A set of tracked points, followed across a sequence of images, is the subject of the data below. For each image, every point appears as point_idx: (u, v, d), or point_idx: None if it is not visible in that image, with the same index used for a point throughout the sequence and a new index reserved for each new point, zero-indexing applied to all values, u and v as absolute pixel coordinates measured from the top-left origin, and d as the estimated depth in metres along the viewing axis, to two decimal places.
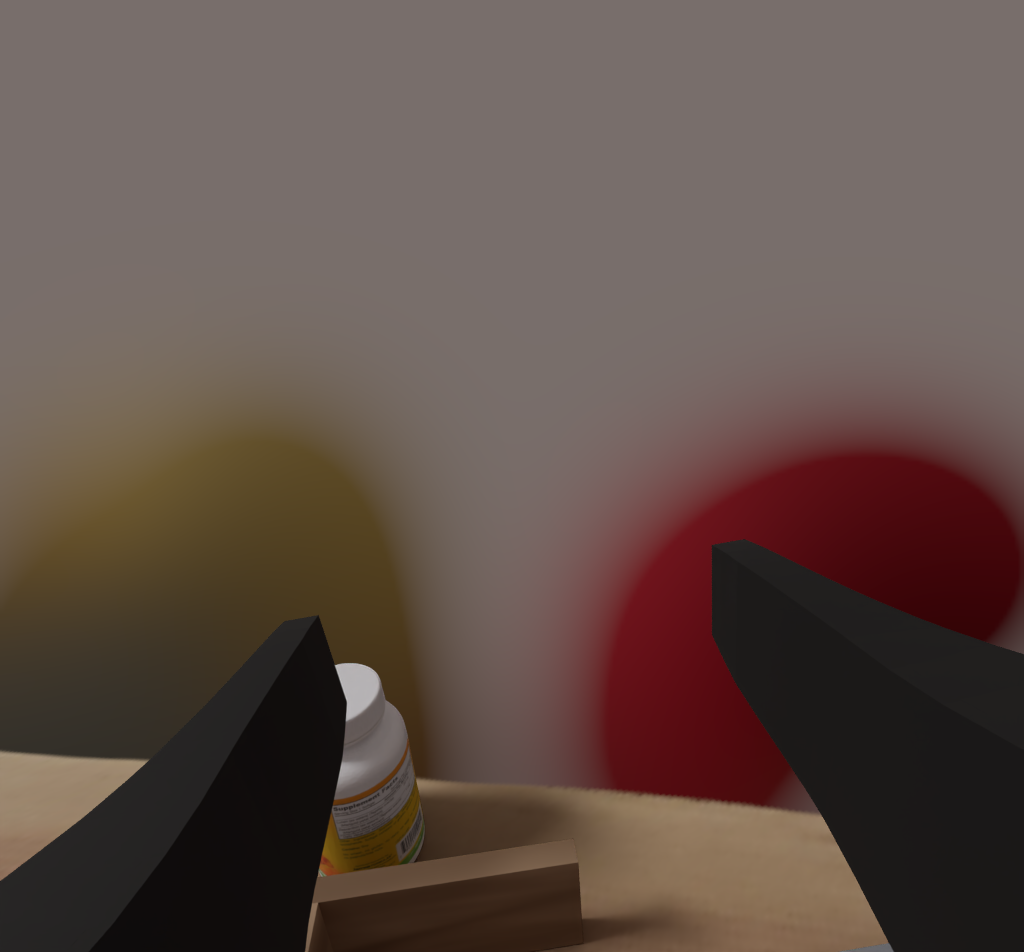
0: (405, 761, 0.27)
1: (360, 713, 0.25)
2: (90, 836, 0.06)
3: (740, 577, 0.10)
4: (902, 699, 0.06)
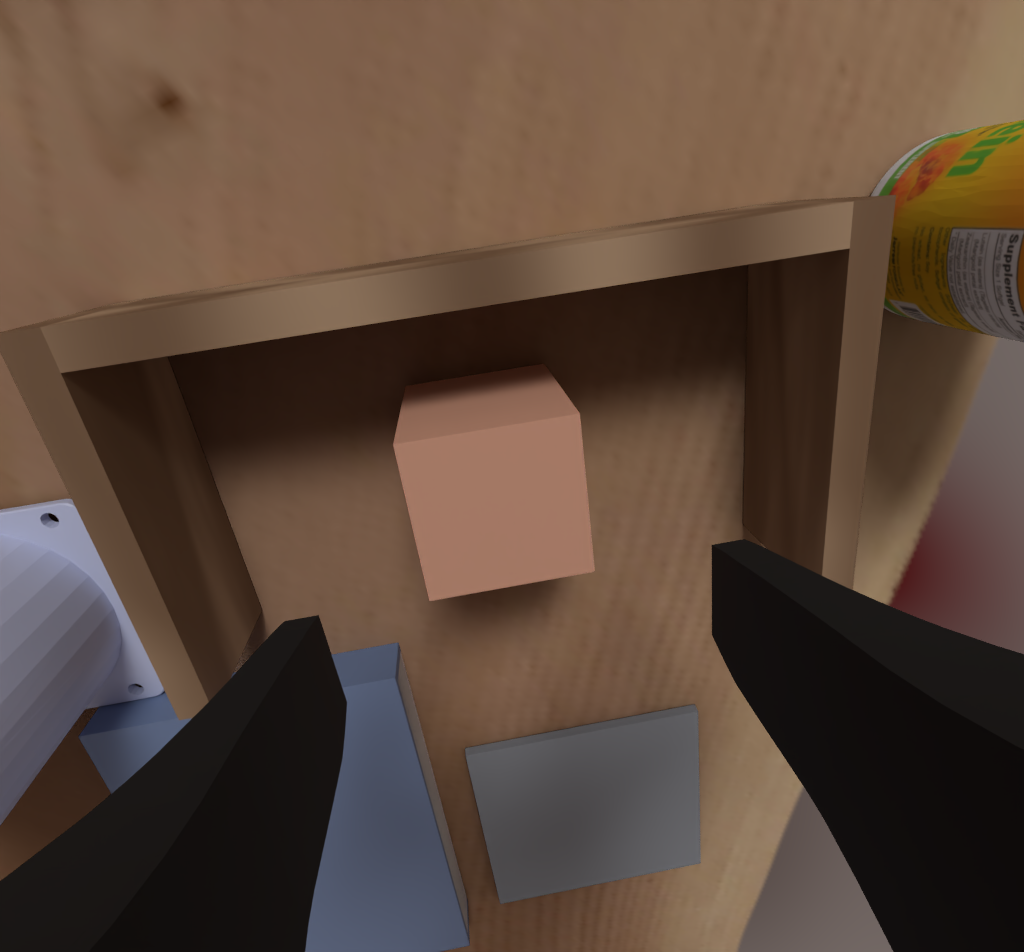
0: None
1: None
2: (90, 836, 0.06)
3: (740, 577, 0.10)
4: (902, 699, 0.06)
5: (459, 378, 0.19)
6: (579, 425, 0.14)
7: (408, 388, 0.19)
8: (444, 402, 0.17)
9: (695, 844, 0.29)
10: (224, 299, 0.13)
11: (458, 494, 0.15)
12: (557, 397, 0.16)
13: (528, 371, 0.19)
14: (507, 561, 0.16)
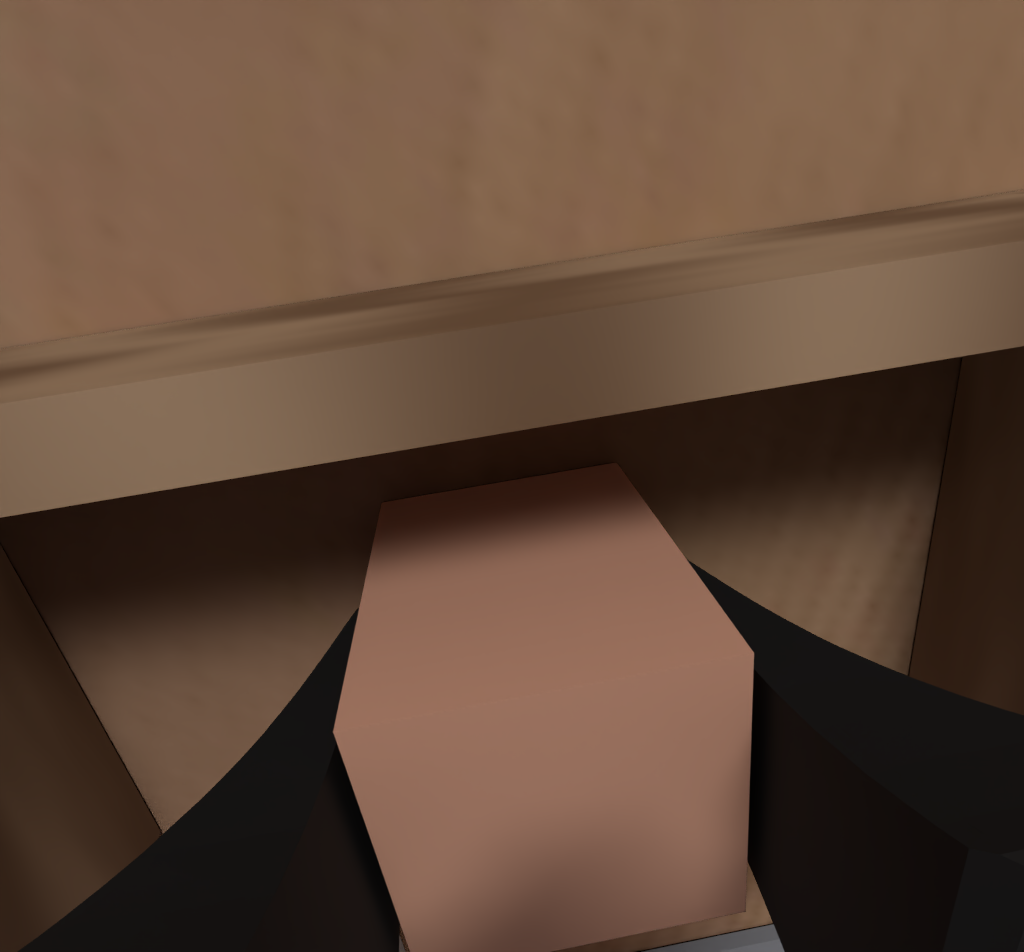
0: None
1: None
2: (219, 811, 0.06)
3: None
4: (786, 721, 0.06)
5: (473, 491, 0.11)
6: (749, 674, 0.07)
7: (385, 513, 0.11)
8: (449, 565, 0.09)
9: None
10: None
11: (478, 812, 0.07)
12: (677, 576, 0.08)
13: (595, 483, 0.11)
14: (577, 909, 0.08)
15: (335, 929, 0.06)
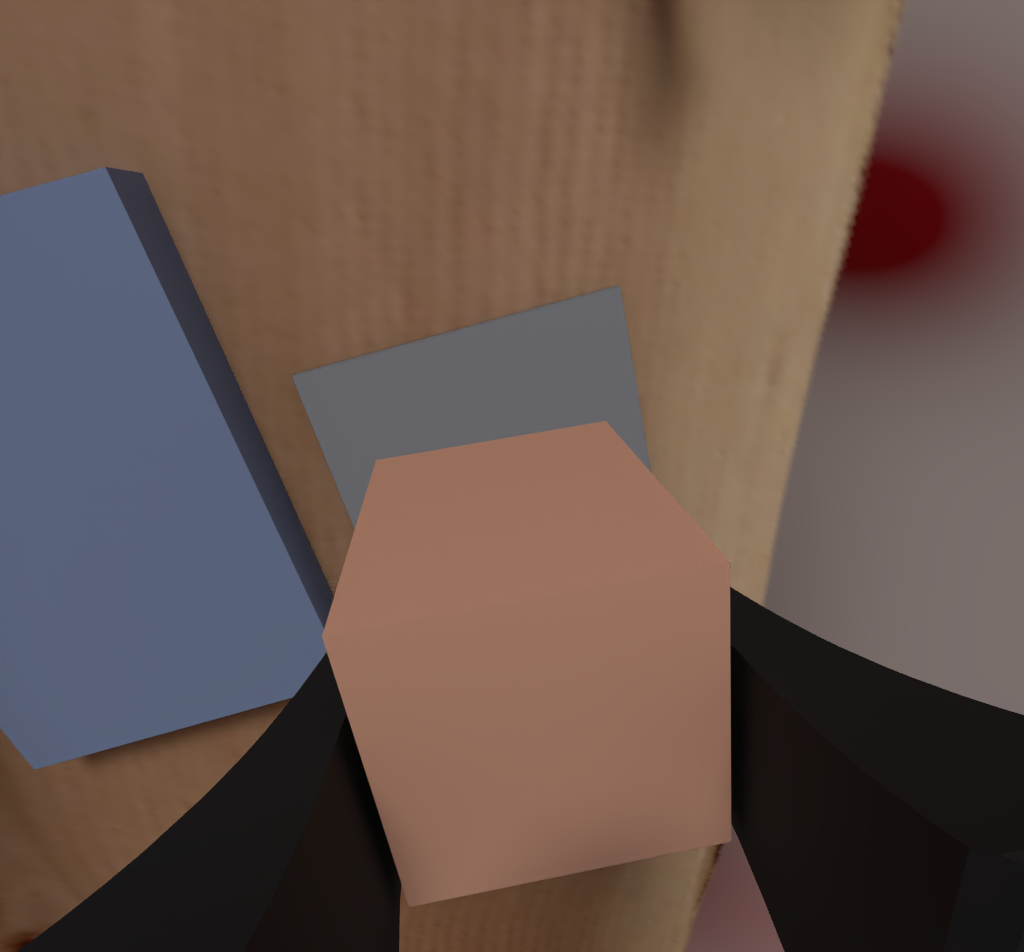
0: None
1: None
2: (220, 810, 0.06)
3: None
4: (786, 721, 0.06)
5: (465, 448, 0.11)
6: (726, 585, 0.07)
7: (378, 468, 0.11)
8: (438, 505, 0.09)
9: None
10: None
11: (465, 724, 0.07)
12: (659, 506, 0.08)
13: (584, 438, 0.11)
14: (565, 834, 0.08)
15: (334, 929, 0.06)
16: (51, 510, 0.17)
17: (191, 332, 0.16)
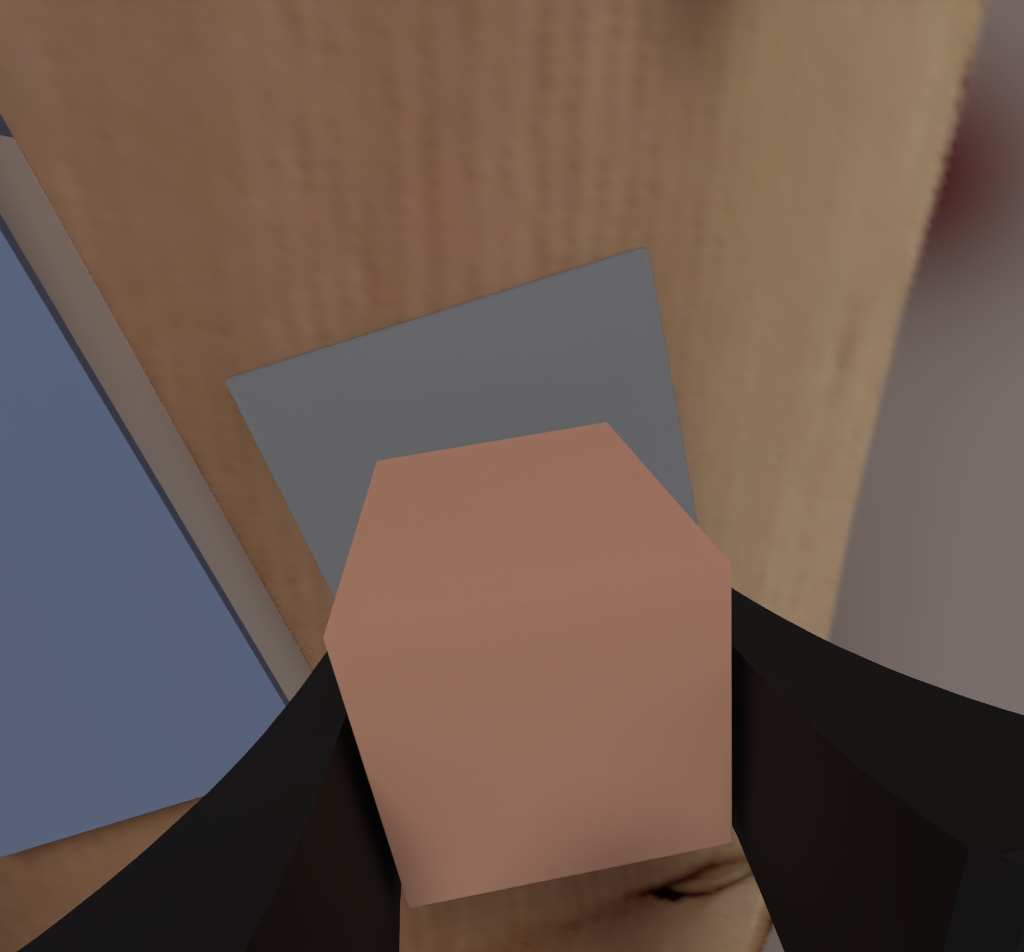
0: None
1: None
2: (220, 811, 0.06)
3: None
4: (786, 721, 0.06)
5: (466, 449, 0.11)
6: (728, 587, 0.07)
7: (379, 469, 0.11)
8: (439, 506, 0.09)
9: None
10: None
11: (466, 726, 0.07)
12: (660, 508, 0.08)
13: (584, 439, 0.11)
14: (564, 835, 0.08)
15: (335, 929, 0.06)
16: None
17: (74, 327, 0.12)
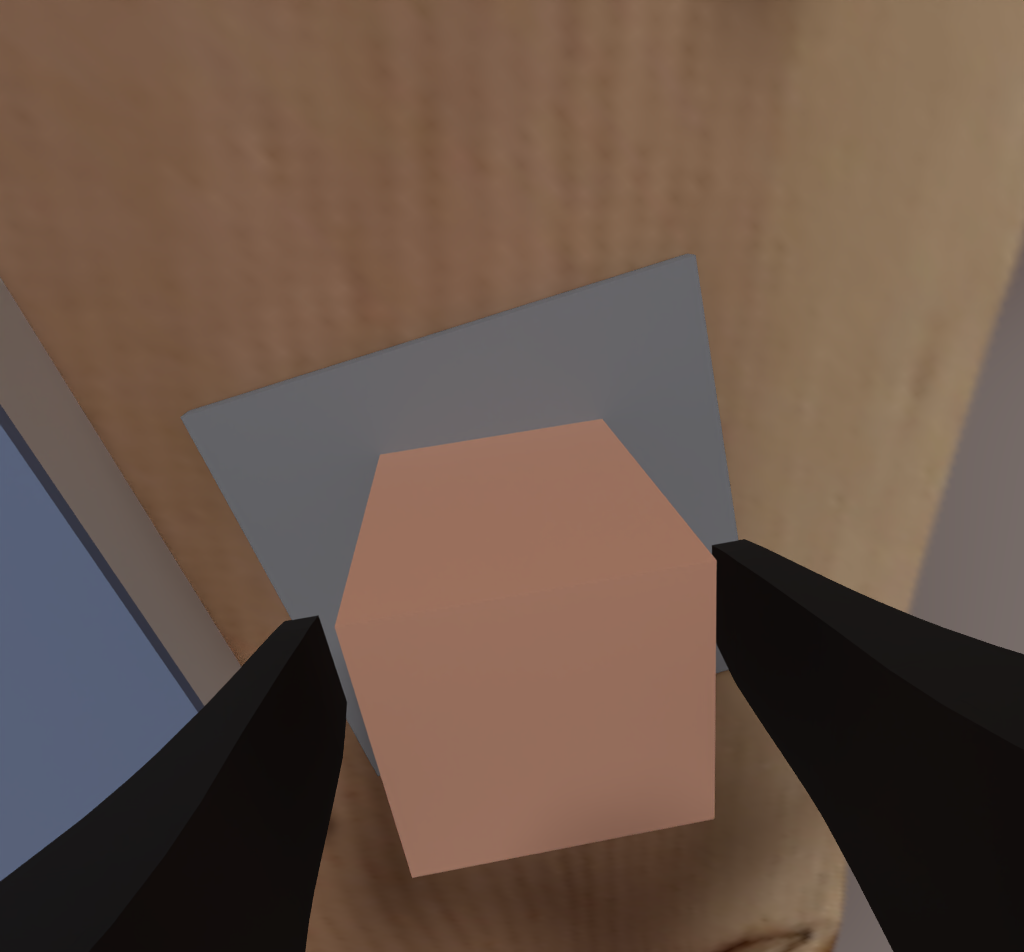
0: None
1: None
2: (90, 835, 0.06)
3: (740, 577, 0.10)
4: (902, 699, 0.06)
5: (466, 444, 0.12)
6: (713, 581, 0.07)
7: (383, 463, 0.11)
8: (442, 501, 0.10)
9: None
10: None
11: (467, 709, 0.08)
12: (652, 505, 0.08)
13: (581, 435, 0.11)
14: (558, 811, 0.08)
15: None
16: None
17: None
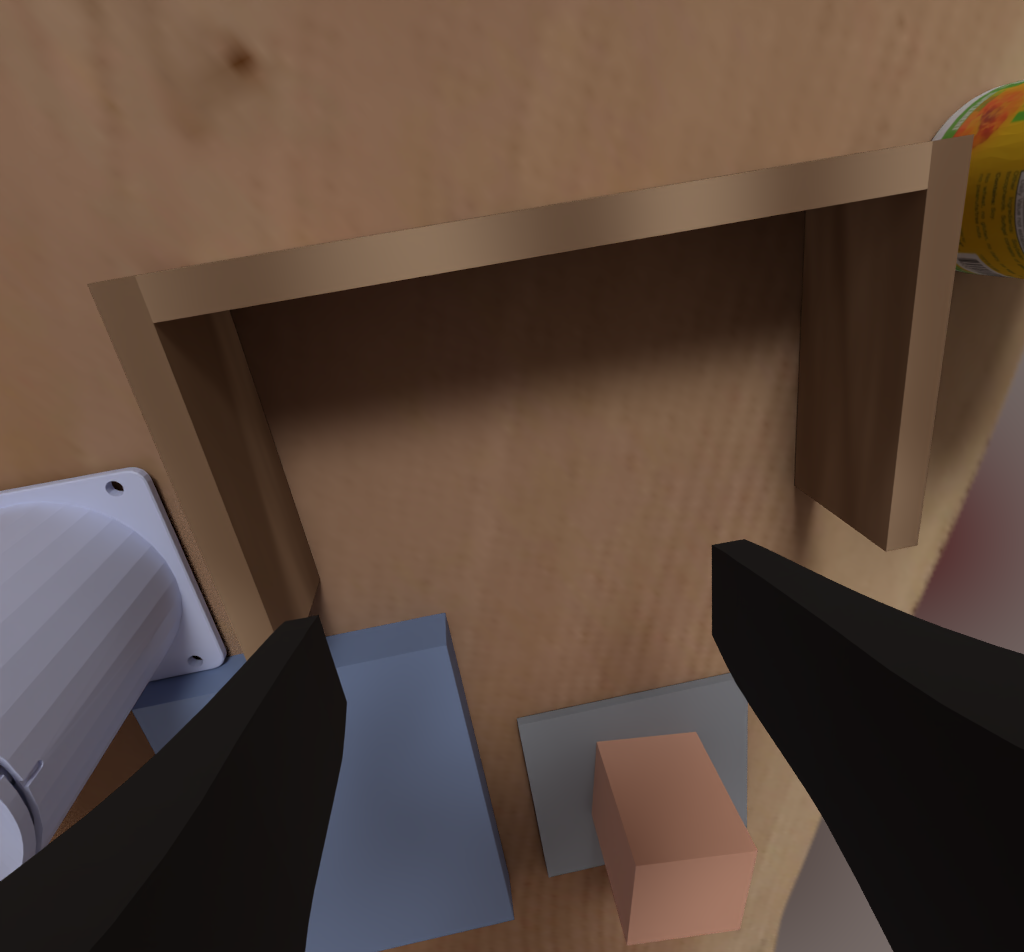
0: None
1: None
2: (89, 835, 0.06)
3: (740, 577, 0.10)
4: (902, 699, 0.06)
5: (636, 741, 0.26)
6: (755, 856, 0.22)
7: (602, 750, 0.26)
8: (643, 791, 0.24)
9: (742, 813, 0.29)
10: (316, 246, 0.13)
11: (667, 890, 0.22)
12: (730, 812, 0.23)
13: (689, 746, 0.26)
14: (685, 924, 0.23)
15: None
16: (345, 821, 0.24)
17: (466, 718, 0.23)
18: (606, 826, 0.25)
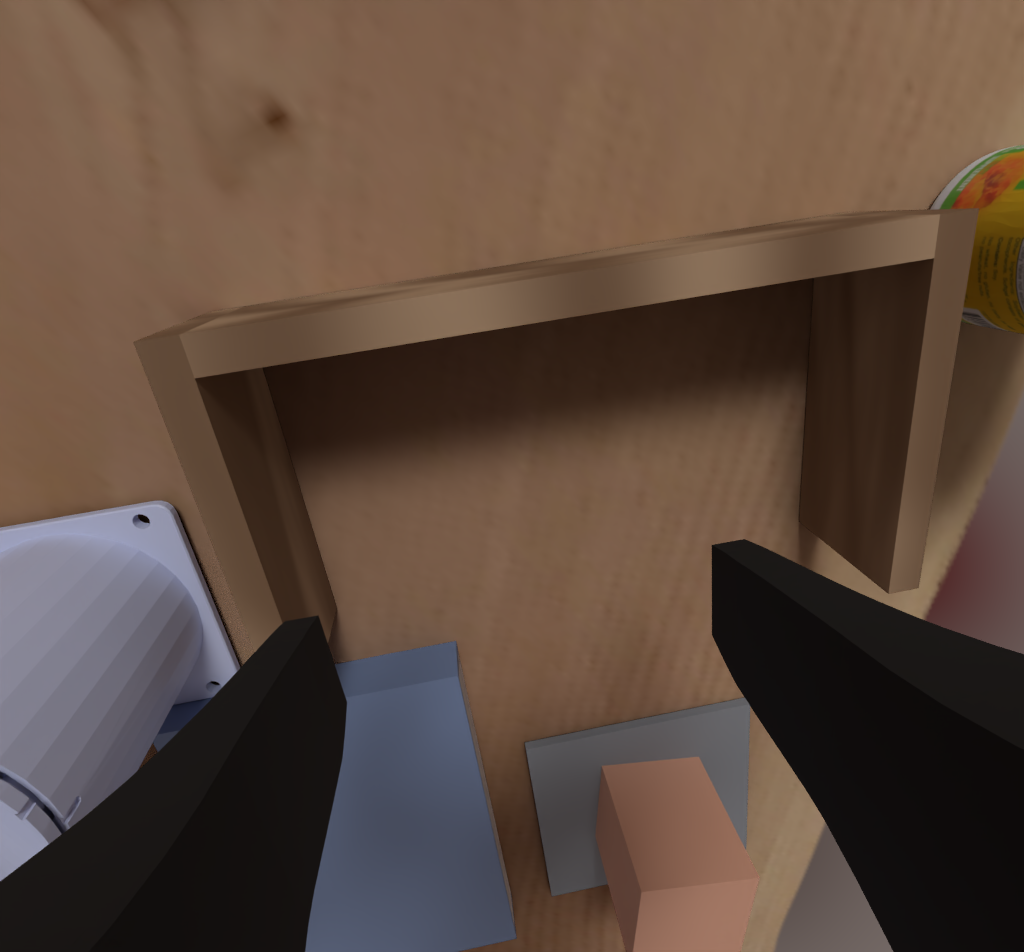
0: None
1: None
2: (90, 835, 0.06)
3: (740, 577, 0.10)
4: (902, 699, 0.06)
5: (641, 765, 0.27)
6: (757, 883, 0.22)
7: (607, 775, 0.26)
8: (648, 816, 0.24)
9: (742, 835, 0.30)
10: (353, 307, 0.14)
11: (671, 915, 0.22)
12: (733, 838, 0.24)
13: (692, 771, 0.26)
14: (687, 948, 0.23)
15: None
16: (354, 844, 0.24)
17: (474, 745, 0.24)
18: (610, 849, 0.26)
